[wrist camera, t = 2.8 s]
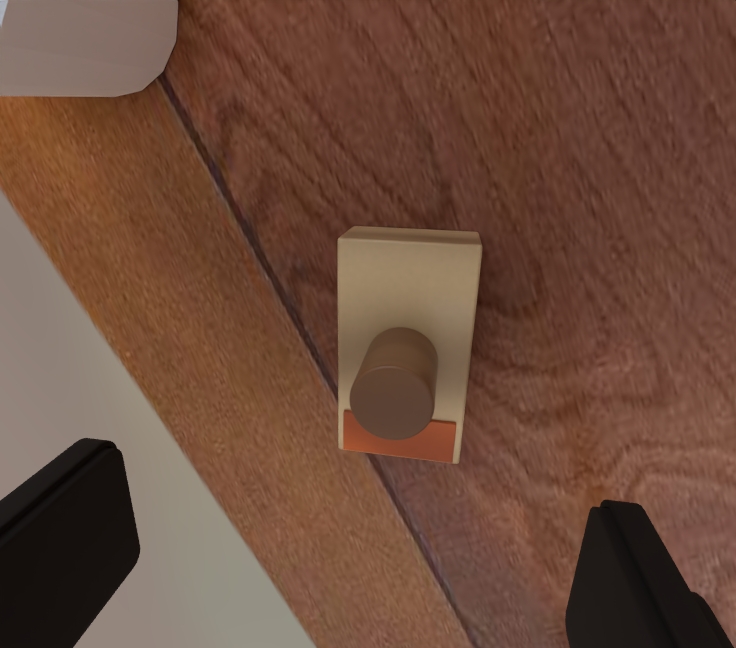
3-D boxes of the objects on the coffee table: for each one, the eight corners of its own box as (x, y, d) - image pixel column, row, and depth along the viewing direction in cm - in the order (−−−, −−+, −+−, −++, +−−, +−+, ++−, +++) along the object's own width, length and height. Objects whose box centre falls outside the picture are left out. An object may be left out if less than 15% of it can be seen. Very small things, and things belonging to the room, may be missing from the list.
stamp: (352, 225, 17) (308, 258, 12) (479, 231, 16) (490, 269, 11) (351, 414, 20) (315, 507, 15) (458, 426, 19) (459, 528, 14)
